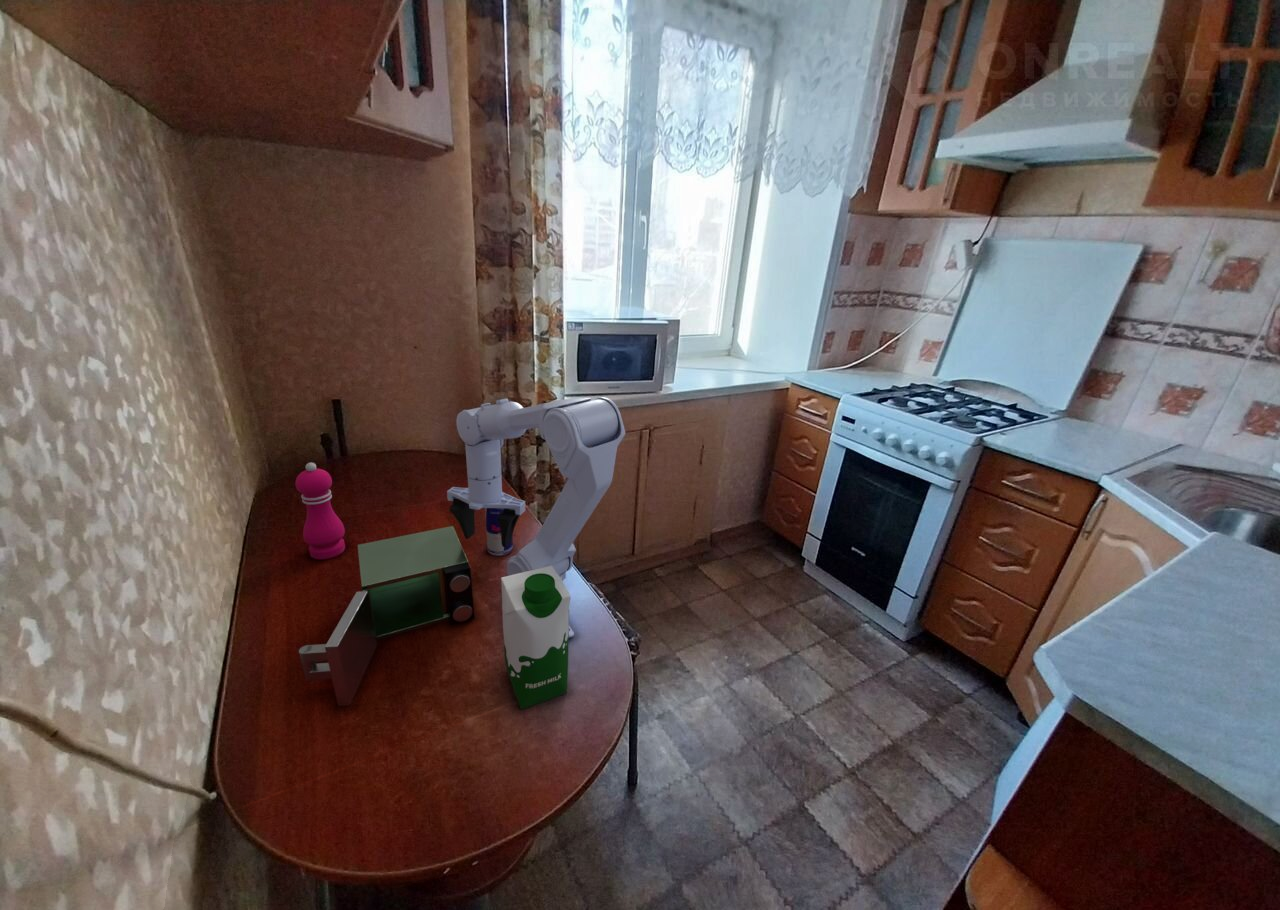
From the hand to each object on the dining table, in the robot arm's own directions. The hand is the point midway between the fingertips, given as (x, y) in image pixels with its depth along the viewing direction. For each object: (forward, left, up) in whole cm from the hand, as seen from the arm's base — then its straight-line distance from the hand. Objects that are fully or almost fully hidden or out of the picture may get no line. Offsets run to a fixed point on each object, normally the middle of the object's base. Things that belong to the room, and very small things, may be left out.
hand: (488, 540), depth 92 cm
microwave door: (-12, +25, -10) cm, 30 cm away
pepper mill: (+26, +27, -11) cm, 39 cm away
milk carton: (-26, 0, -11) cm, 28 cm away
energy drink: (+12, -5, -11) cm, 17 cm away
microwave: (-1, +13, -10) cm, 17 cm away
